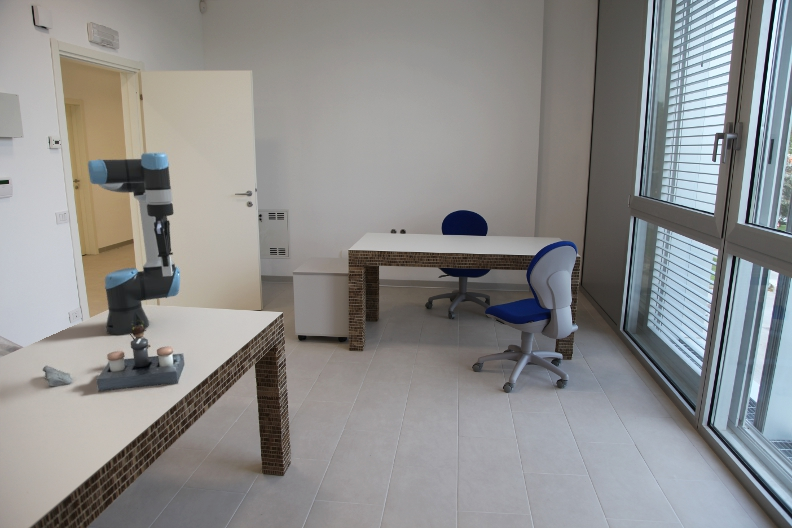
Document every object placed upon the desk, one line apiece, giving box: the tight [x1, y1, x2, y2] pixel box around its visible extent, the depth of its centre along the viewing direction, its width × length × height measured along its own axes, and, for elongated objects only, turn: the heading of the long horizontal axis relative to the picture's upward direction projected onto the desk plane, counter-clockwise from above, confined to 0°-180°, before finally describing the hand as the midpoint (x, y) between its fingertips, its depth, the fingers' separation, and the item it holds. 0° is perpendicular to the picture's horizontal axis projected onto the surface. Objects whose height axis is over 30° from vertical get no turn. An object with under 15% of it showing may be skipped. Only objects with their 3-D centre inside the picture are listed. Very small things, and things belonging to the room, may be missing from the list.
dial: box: [129, 337, 149, 367], centre depth 162 cm, size 5×5×8 cm
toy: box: [129, 321, 151, 350], centre depth 174 cm, size 6×6×15 cm
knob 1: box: [106, 350, 125, 372], centre depth 161 cm, size 5×5×8 cm
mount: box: [96, 353, 185, 393], centre depth 163 cm, size 14×22×4 cm, turn 104°
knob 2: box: [156, 346, 174, 367], centre depth 164 cm, size 5×5×8 cm
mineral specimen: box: [42, 365, 73, 387], centre depth 163 cm, size 6×12×4 cm, turn 40°
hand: (167, 275), depth 170 cm, fingers closed
